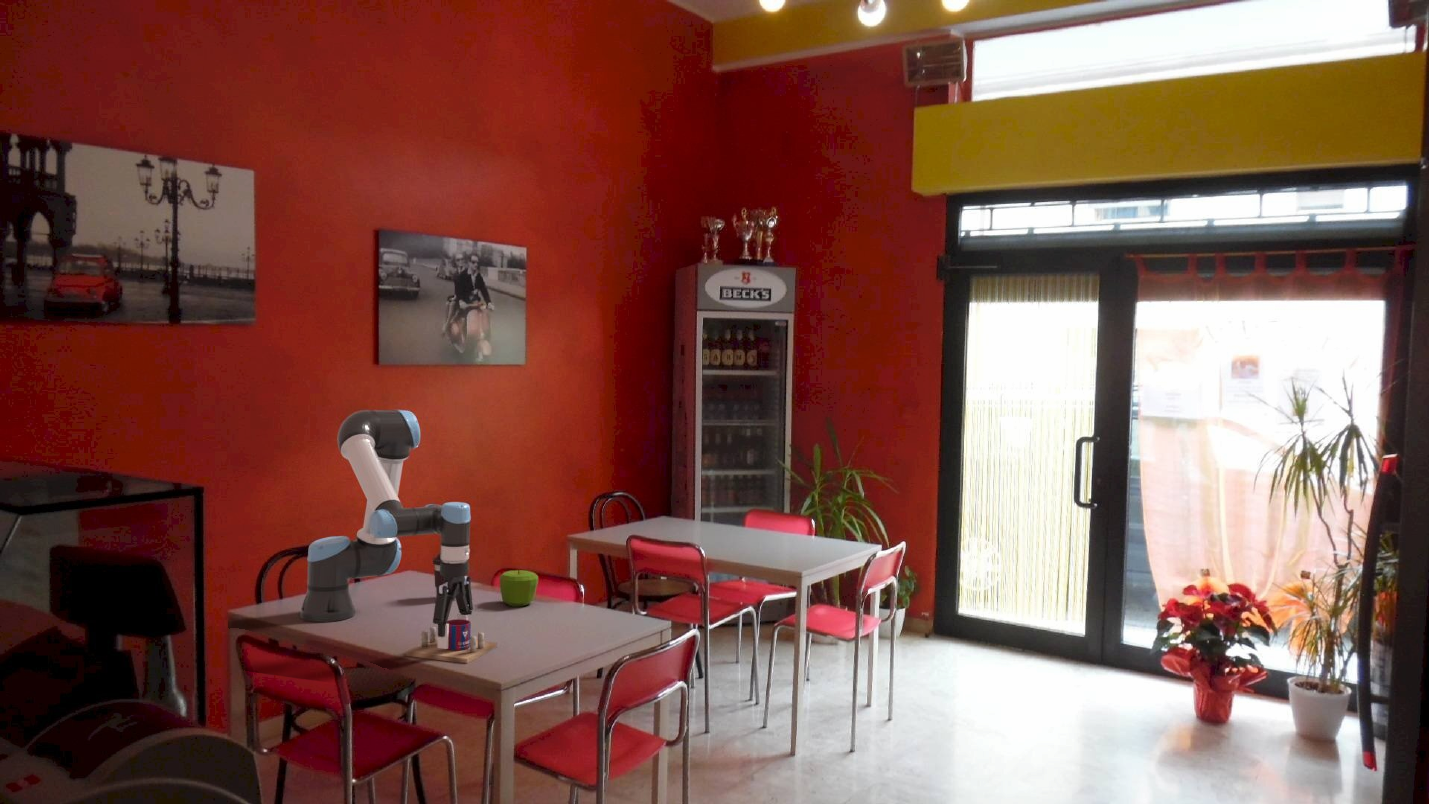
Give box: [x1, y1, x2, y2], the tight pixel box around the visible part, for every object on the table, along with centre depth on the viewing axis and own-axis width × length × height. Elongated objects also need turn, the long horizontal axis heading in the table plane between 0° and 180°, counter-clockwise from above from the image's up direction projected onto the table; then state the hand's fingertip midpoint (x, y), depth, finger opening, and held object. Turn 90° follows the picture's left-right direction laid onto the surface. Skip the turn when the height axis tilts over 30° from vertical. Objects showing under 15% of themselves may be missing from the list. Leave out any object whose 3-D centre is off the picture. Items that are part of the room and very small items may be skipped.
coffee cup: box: [432, 552, 456, 601], centre depth 321 cm, size 10×10×15 cm
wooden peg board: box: [405, 626, 498, 664], centre depth 263 cm, size 18×16×5 cm
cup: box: [446, 618, 472, 651], centre depth 264 cm, size 7×10×7 cm
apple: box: [499, 569, 539, 607], centre depth 317 cm, size 12×12×11 cm
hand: (452, 643), depth 263 cm, fingers open, 9 cm apart
